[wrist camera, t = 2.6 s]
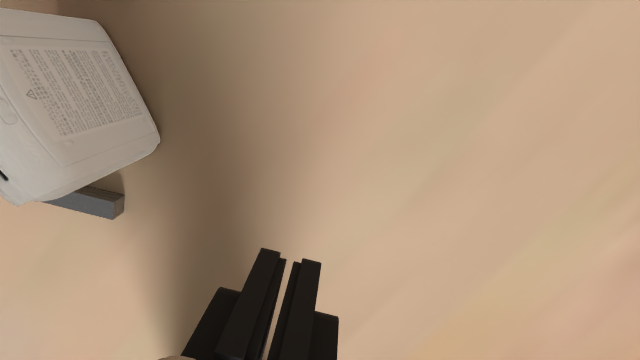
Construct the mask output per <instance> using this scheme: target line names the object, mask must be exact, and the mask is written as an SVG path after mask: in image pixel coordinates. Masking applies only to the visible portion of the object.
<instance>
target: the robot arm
mask: <svg viewBox="0 0 640 360" xmlns="http://www.w3.org/2000/svg"><path fill="white" fill-rule="evenodd" d="M280 253H281V252H277V251H273V250H269V249H265V248H261V250H260V252H259V254H258V256H257V259H256V261H255V263H254V265H253V267H252V270H251V272H250V274H249V276H248V278H247V280H246V283H245V285H244V287H243V289H242V291H241V292H238V291H235V290H231V289H227V288H223V287H220V288H219V289H218V290H217V292H216V293H215V295H214V297H213V299H212V301H211V302H210V304H209V306H208V308H207V309H206V311H205V313H204V315H203V317H202V318H201V320H200V322H199V324H198V326H197V327H196V329H195V331H194V333H193V334H192V336H191V338H190V340H189V342H188V343H187V345H186V347H185V349H184V351H183V352H182V354H181V356H170V357H166V358H161V359H159V360H262V356H263V353H264V349H265V346H266V342H267V338H268V334H269V330H270V326H271V322H272V318H273V314H274V310H275V306H276V302H277V297H278V293H279V289H280V285H281V281H282V277H283V273H284V269H285V265H286V260H287V259H283V258H280ZM320 270H321V263H320V262H316V261H312V260H308V259H304V258H303V259H302V262H301V263H299V262H295V261H294V263H293V266H292V270H291V274H290V277H289V281H288V285H287V288H286V292H285V296H284V299H283V303H282V307H281V310H280V314H279V317H278V321H277V325H276V328H275V332H274V336H273V339H272V343H271V347H270V350H269V354H268V358H267V360H337V346H338V325H339V318H338V317H337V316H333V315H329V314H325V313H321V312H317V311H315V305H316V298H317V291H318V284H319V277H320Z"/></svg>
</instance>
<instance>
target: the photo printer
mask: <svg viewBox="0 0 640 360" xmlns="http://www.w3.org/2000/svg"><path fill="white" fill-rule="evenodd" d="M159 143H160V136H159V133H158V130H157V128H156V125H155V123H154V121H153V119H152V117H151V115H150V113H149V111H148V109H147V107H146V105H145V103H144V101H143V99H142V97H141V95H140V93H139V91H138V89H137V87H136V85H135V84H134V82H133V80H132V78H131V76H130V74H129V72H128V70H127V68H126V67H125V65H124V63H123V61H122V59H121V57H120V55H119V53H118V52H117V50H116V48H115V46H114V45H113V43H112V41H111V40H110V38H109V36H108V35H107V33H106V32H105V30H104V29H103V28H102V26H101V25H100V24H99V23H98V22H97V21H94V20H90V19H82V18H74V17H67V16H60V15H52V14H45V13H37V12H30V11H22V10H16V9H8V8H2V7H0V195H1V196H2V197H3V198H5V199H6V200H7V201H9V202H10V203H12V204H13V205H14V206H20V205H22V204H24V203H26V202H28V201H34V202H43V201H50V200H54V199H58V198H60V197H63V196H65V195H67V194H69V193H71V192H73V191H75V190H78V189H80V188H82V187H84V186H86V185H88V184H90V183H92V182H94V181H96V180H98V179H100V178H102V177H105V176H107V175H109V174H111V173H113V172H115V171H117V170H119V169H121V168H123V167H125V166H128V165H130V164H132V163H134V162H136V161H138V160H140V159H142V158H144V157H146V156H148V155H149V154H151V153H152V152H153V151H154V150H155V148H156V147H157V145H158V144H159Z"/></svg>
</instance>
